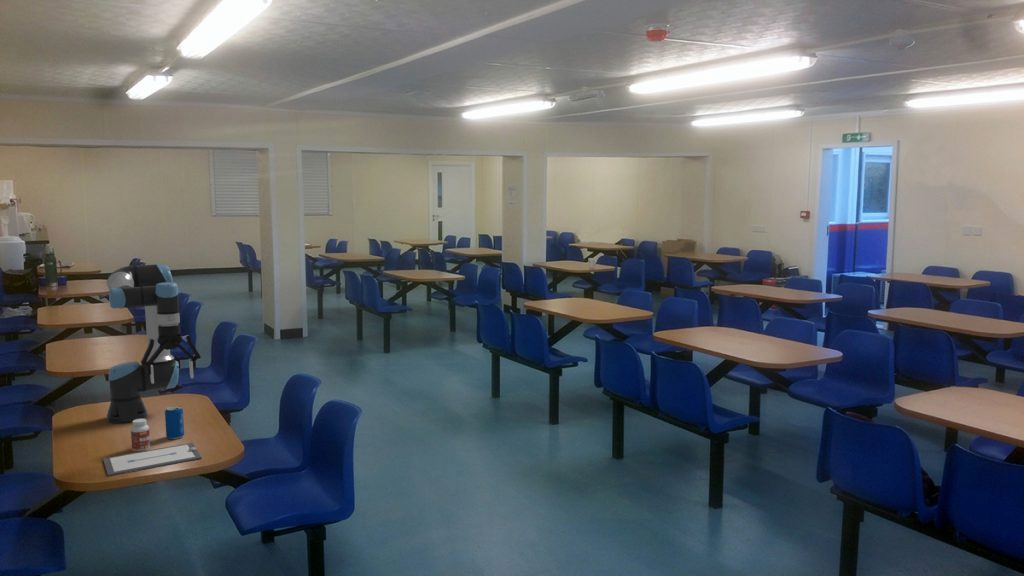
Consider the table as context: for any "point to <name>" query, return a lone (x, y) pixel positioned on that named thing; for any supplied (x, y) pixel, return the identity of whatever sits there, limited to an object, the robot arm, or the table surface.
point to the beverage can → (174, 422)
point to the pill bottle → (140, 435)
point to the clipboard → (151, 459)
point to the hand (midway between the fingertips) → (172, 380)
